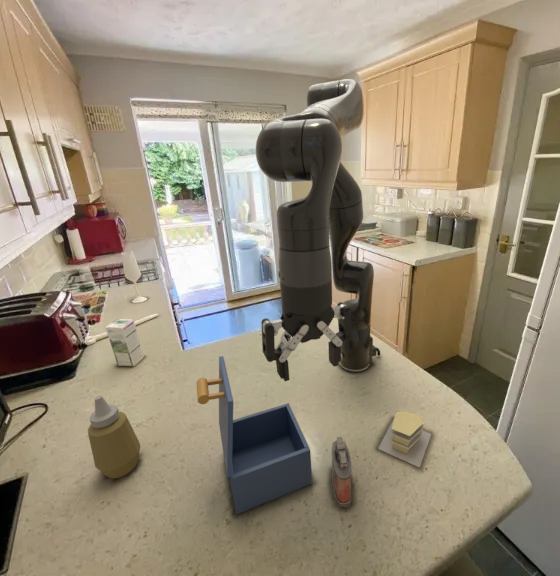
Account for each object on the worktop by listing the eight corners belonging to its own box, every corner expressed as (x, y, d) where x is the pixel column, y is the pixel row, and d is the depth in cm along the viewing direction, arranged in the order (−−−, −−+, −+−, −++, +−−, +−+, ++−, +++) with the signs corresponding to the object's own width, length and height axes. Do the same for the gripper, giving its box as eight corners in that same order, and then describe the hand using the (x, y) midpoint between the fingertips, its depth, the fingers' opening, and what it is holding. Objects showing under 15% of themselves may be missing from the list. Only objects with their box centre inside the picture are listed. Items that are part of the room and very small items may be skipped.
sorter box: (291, 433, 72) (288, 402, 69) (312, 483, 61) (310, 449, 57) (226, 455, 67) (221, 423, 64) (236, 514, 55) (229, 479, 52)
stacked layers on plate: (419, 467, 63) (421, 447, 61) (378, 449, 68) (379, 429, 66) (431, 434, 71) (433, 415, 69) (393, 419, 75) (394, 401, 73)
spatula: (154, 314, 136) (153, 308, 135) (159, 316, 134) (158, 310, 133) (82, 343, 114) (80, 336, 113) (87, 346, 112) (85, 339, 111)
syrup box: (144, 357, 105) (134, 318, 99) (133, 367, 99) (121, 327, 94) (129, 356, 105) (117, 318, 100) (116, 366, 100) (104, 326, 94)
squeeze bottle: (152, 455, 68) (132, 388, 61) (119, 489, 61) (92, 417, 54) (125, 446, 70) (102, 380, 64) (90, 477, 63) (61, 407, 57)
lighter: (330, 468, 64) (329, 430, 60) (346, 466, 64) (346, 429, 60) (335, 508, 56) (334, 468, 52) (354, 506, 56) (354, 466, 53)
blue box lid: (223, 355, 59) (195, 359, 57) (233, 400, 48) (198, 406, 46) (222, 421, 64) (196, 426, 62) (231, 477, 52) (200, 485, 50)
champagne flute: (143, 296, 157) (131, 250, 149) (149, 299, 153) (138, 251, 145) (129, 300, 152) (116, 253, 143) (135, 303, 148) (122, 255, 140)
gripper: (264, 294, 39) (274, 398, 44) (361, 275, 44) (360, 371, 50) (250, 277, 45) (261, 370, 51) (337, 262, 50) (338, 348, 56)
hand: (310, 370), depth 50 cm, fingers open, 8 cm apart
